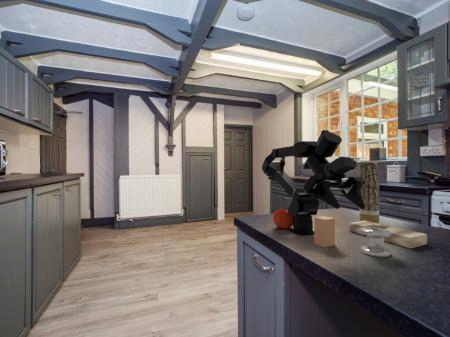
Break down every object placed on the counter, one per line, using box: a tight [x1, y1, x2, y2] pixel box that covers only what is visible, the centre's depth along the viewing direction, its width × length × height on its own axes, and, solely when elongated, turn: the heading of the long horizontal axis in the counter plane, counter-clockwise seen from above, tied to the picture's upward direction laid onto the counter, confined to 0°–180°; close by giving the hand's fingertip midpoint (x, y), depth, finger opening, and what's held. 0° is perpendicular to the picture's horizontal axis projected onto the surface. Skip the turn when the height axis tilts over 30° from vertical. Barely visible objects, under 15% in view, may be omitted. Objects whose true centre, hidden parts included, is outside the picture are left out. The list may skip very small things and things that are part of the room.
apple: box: [272, 206, 293, 230], centre depth 94 cm, size 8×8×8 cm
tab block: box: [313, 215, 336, 248], centre depth 74 cm, size 4×4×8 cm
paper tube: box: [358, 160, 380, 224], centre depth 98 cm, size 7×7×25 cm
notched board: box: [348, 220, 428, 249], centre depth 81 cm, size 20×8×3 cm, turn 24°
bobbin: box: [360, 227, 392, 258], centre depth 67 cm, size 7×7×6 cm
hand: (351, 208), depth 66 cm, fingers open, 9 cm apart
